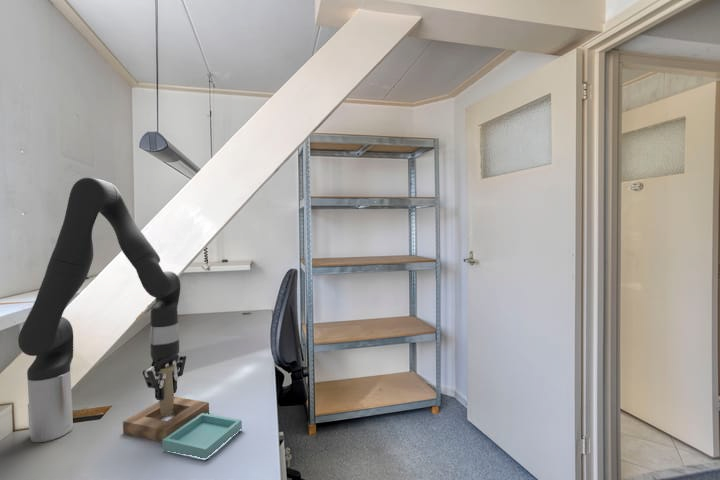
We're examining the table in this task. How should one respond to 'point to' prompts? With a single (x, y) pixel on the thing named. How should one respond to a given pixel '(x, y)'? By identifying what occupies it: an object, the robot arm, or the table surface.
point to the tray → (202, 435)
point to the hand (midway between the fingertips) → (166, 395)
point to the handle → (167, 392)
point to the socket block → (156, 429)
